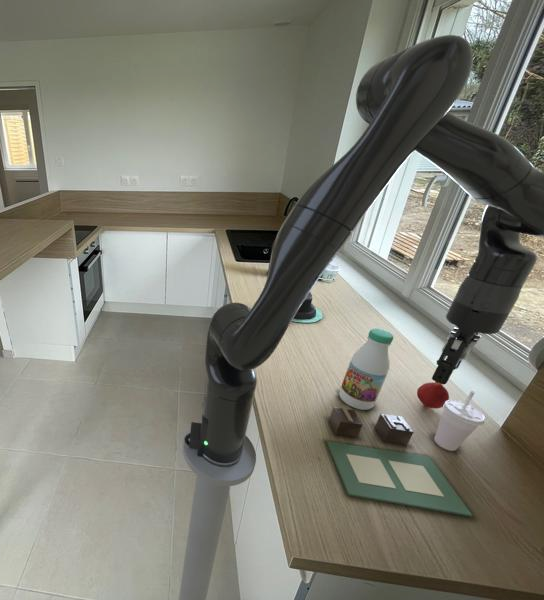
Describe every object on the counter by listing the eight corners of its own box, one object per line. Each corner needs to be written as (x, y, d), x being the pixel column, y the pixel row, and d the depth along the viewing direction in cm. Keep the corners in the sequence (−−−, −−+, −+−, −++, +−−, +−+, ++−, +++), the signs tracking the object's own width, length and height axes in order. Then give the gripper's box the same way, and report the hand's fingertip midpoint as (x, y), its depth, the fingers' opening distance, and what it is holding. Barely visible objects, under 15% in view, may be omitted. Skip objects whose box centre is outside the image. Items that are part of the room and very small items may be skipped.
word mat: (348, 495, 59) (349, 493, 59) (326, 442, 70) (327, 440, 69) (471, 517, 56) (472, 514, 56) (428, 458, 67) (430, 456, 67)
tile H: (384, 442, 70) (391, 427, 69) (374, 426, 74) (380, 412, 73) (406, 445, 70) (414, 431, 68) (395, 429, 74) (402, 415, 72)
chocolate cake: (256, 300, 134) (294, 296, 141) (278, 338, 124) (318, 332, 131) (275, 276, 123) (315, 273, 129) (301, 317, 112) (343, 311, 119)
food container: (318, 272, 171) (321, 261, 168) (341, 280, 162) (345, 267, 159) (305, 277, 165) (308, 264, 162) (328, 284, 156) (332, 271, 153)
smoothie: (454, 436, 72) (484, 387, 66) (471, 459, 67) (505, 408, 61) (421, 429, 74) (447, 380, 68) (434, 451, 68) (464, 400, 63)
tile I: (335, 434, 72) (340, 420, 70) (328, 419, 76) (333, 405, 74) (357, 438, 71) (363, 423, 69) (349, 422, 75) (354, 408, 73)
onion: (434, 401, 82) (447, 376, 79) (446, 417, 77) (461, 392, 74) (408, 396, 84) (420, 372, 81) (418, 412, 79) (431, 386, 76)
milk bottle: (343, 385, 87) (367, 321, 79) (376, 400, 82) (405, 333, 74) (334, 399, 82) (358, 332, 74) (368, 415, 77) (399, 345, 69)
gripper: (464, 287, 65) (432, 354, 72) (445, 304, 58) (410, 376, 64) (517, 300, 60) (477, 371, 67) (503, 321, 52) (459, 398, 59)
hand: (444, 374), depth 66 cm, fingers open, 8 cm apart
